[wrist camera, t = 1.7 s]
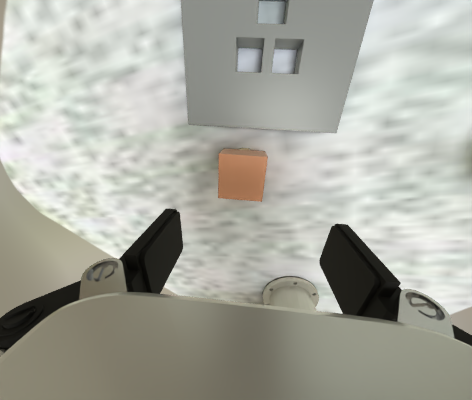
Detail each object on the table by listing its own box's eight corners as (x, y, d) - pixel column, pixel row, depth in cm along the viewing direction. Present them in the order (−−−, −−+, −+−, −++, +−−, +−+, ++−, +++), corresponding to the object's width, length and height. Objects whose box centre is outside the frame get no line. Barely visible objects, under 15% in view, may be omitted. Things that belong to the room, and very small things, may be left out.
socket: (327, 132, 25) (336, 133, 22) (194, 124, 26) (188, 124, 24) (383, -86, 17) (408, -125, 14) (185, -84, 18) (173, -121, 15)
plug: (259, 184, 29) (261, 201, 23) (225, 181, 30) (218, 197, 23) (263, 148, 27) (267, 157, 21) (226, 146, 27) (218, 153, 21)
